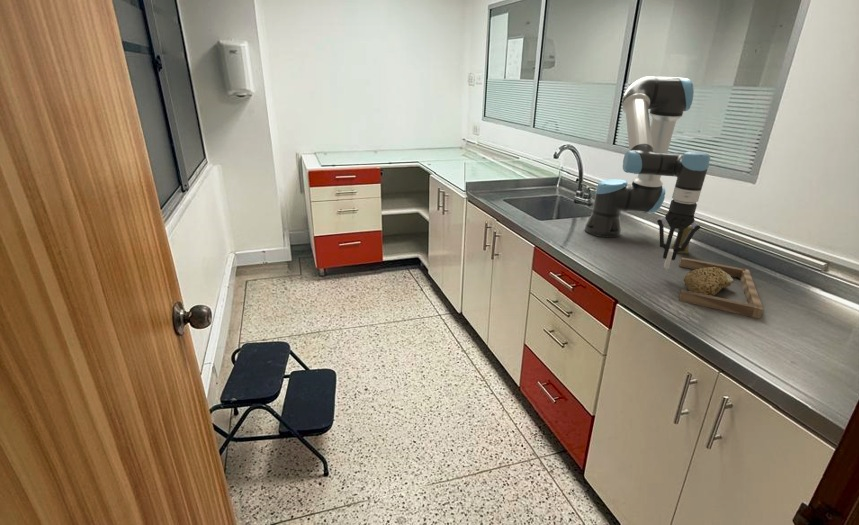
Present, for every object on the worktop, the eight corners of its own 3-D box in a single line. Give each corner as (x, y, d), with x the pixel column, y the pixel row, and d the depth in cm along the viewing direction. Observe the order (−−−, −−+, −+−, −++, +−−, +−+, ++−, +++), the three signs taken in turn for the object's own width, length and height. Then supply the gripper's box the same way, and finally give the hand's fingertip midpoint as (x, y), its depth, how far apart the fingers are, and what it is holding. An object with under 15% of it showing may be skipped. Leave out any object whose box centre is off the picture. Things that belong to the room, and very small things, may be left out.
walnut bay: (679, 264, 164) (681, 257, 163) (745, 277, 155) (748, 269, 154) (679, 300, 136) (681, 291, 135) (760, 318, 127) (763, 309, 126)
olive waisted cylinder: (684, 254, 174) (692, 228, 170) (668, 250, 178) (675, 224, 174) (690, 251, 178) (697, 225, 173) (674, 247, 182) (681, 221, 177)
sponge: (700, 281, 154) (665, 278, 144) (713, 262, 150) (678, 258, 141) (734, 303, 144) (699, 302, 134) (749, 284, 140) (714, 281, 131)
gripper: (661, 200, 141) (644, 267, 150) (708, 207, 136) (687, 275, 145) (662, 195, 147) (646, 260, 157) (706, 201, 142) (687, 268, 151)
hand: (666, 267), depth 151 cm, fingers closed
